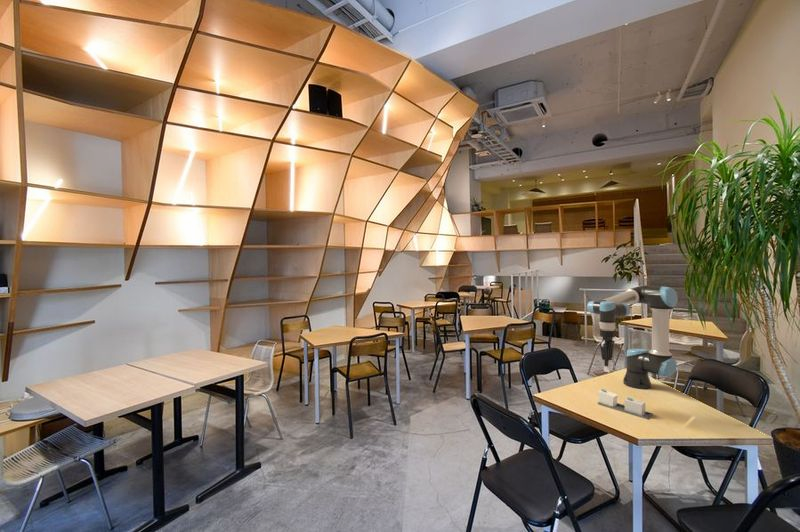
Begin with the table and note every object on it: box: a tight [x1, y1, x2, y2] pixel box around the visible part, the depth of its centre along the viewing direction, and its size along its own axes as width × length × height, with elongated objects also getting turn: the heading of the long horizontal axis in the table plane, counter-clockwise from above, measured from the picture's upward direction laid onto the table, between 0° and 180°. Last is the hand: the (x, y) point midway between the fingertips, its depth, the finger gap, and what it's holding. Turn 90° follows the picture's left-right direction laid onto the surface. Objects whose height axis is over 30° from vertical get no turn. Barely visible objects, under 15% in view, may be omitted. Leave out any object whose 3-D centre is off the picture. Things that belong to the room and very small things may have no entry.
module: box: [597, 388, 619, 407], centre depth 204 cm, size 5×8×7 cm, turn 37°
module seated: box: [624, 396, 646, 416], centre depth 194 cm, size 5×8×7 cm, turn 37°
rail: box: [597, 401, 654, 420], centre depth 198 cm, size 8×25×2 cm, turn 37°
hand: (607, 371), depth 204 cm, fingers closed
